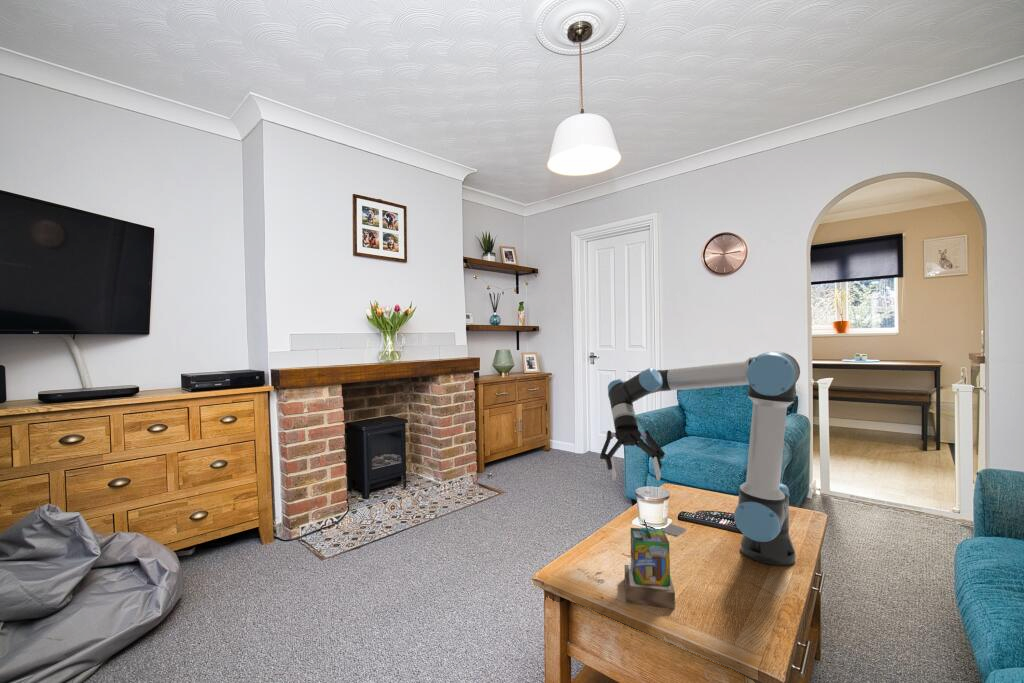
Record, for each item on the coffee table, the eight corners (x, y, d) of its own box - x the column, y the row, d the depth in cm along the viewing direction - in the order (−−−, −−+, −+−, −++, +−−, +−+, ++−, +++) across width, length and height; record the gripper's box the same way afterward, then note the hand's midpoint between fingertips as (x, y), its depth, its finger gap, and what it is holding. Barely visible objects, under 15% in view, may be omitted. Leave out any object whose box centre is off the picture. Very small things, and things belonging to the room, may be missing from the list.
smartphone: (649, 517, 172) (687, 528, 160) (649, 519, 172) (687, 531, 160) (639, 522, 167) (677, 534, 155) (639, 524, 167) (677, 537, 155)
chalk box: (670, 587, 116) (670, 530, 116) (634, 584, 117) (634, 528, 117) (663, 569, 125) (663, 516, 125) (630, 567, 127) (629, 514, 126)
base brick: (668, 583, 126) (668, 568, 126) (674, 608, 114) (674, 591, 114) (624, 578, 129) (624, 563, 128) (626, 602, 117) (626, 586, 117)
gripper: (659, 426, 155) (674, 483, 140) (586, 426, 155) (594, 484, 140) (664, 413, 149) (680, 472, 135) (589, 414, 150) (597, 472, 135)
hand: (636, 478), depth 137 cm, fingers open, 13 cm apart
